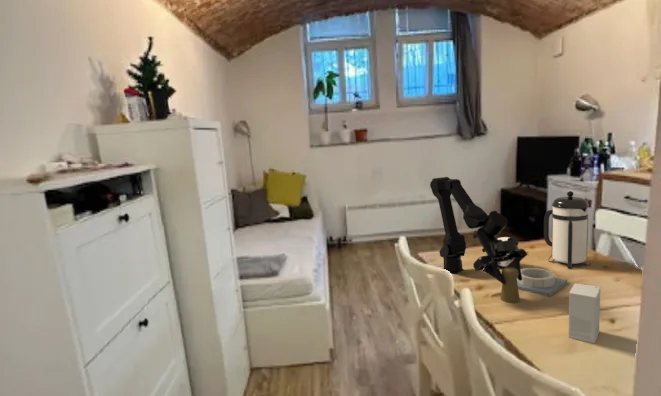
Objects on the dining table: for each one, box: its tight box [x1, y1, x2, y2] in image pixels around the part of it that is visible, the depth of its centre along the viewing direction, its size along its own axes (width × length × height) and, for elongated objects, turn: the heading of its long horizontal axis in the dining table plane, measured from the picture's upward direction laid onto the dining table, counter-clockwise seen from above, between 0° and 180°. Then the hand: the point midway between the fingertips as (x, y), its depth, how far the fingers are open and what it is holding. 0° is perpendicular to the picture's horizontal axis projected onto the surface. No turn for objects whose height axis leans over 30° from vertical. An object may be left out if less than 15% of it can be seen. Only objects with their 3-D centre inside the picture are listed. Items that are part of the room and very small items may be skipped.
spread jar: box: [497, 236, 520, 270], centre depth 166 cm, size 12×11×12 cm
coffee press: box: [543, 190, 591, 270], centre depth 163 cm, size 17×16×30 cm
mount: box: [517, 267, 568, 297], centre depth 146 cm, size 16×16×4 cm
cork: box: [500, 267, 521, 304], centre depth 134 cm, size 6×6×11 cm
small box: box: [568, 283, 601, 344], centre depth 109 cm, size 8×6×13 cm
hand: (513, 281), depth 133 cm, fingers open, 6 cm apart
